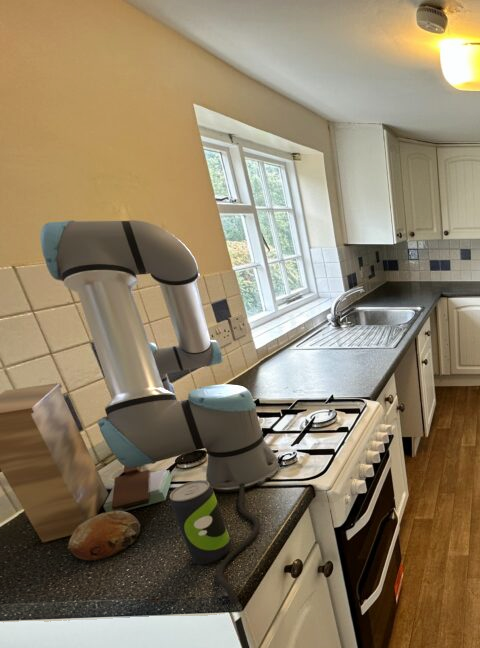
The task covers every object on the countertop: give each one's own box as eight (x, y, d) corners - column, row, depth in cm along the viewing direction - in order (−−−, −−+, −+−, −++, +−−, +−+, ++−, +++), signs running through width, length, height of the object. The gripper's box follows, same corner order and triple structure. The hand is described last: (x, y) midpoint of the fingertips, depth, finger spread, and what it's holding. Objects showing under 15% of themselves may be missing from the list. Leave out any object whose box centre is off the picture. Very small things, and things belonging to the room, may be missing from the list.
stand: (92, 529, 85) (31, 407, 74) (38, 543, 81) (-34, 418, 70) (111, 492, 96) (60, 382, 85) (64, 504, 92) (5, 390, 82)
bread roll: (139, 535, 88) (119, 503, 87) (154, 533, 83) (133, 499, 81) (78, 568, 80) (55, 533, 79) (90, 568, 74) (65, 531, 73)
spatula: (149, 500, 90) (145, 496, 89) (113, 510, 87) (109, 505, 86) (153, 427, 103) (150, 422, 101) (122, 433, 100) (118, 428, 99)
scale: (165, 501, 93) (160, 490, 92) (106, 516, 89) (101, 505, 87) (172, 478, 101) (168, 467, 100) (119, 490, 97) (114, 480, 96)
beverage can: (200, 546, 81) (175, 483, 75) (236, 538, 82) (215, 476, 77) (188, 570, 75) (161, 504, 69) (227, 561, 77) (204, 496, 71)
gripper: (188, 414, 118) (176, 451, 100) (117, 427, 111) (90, 470, 92) (180, 390, 115) (166, 424, 97) (107, 402, 108) (77, 442, 89)
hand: (129, 447), depth 95 cm, fingers closed on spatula, 2 cm apart
